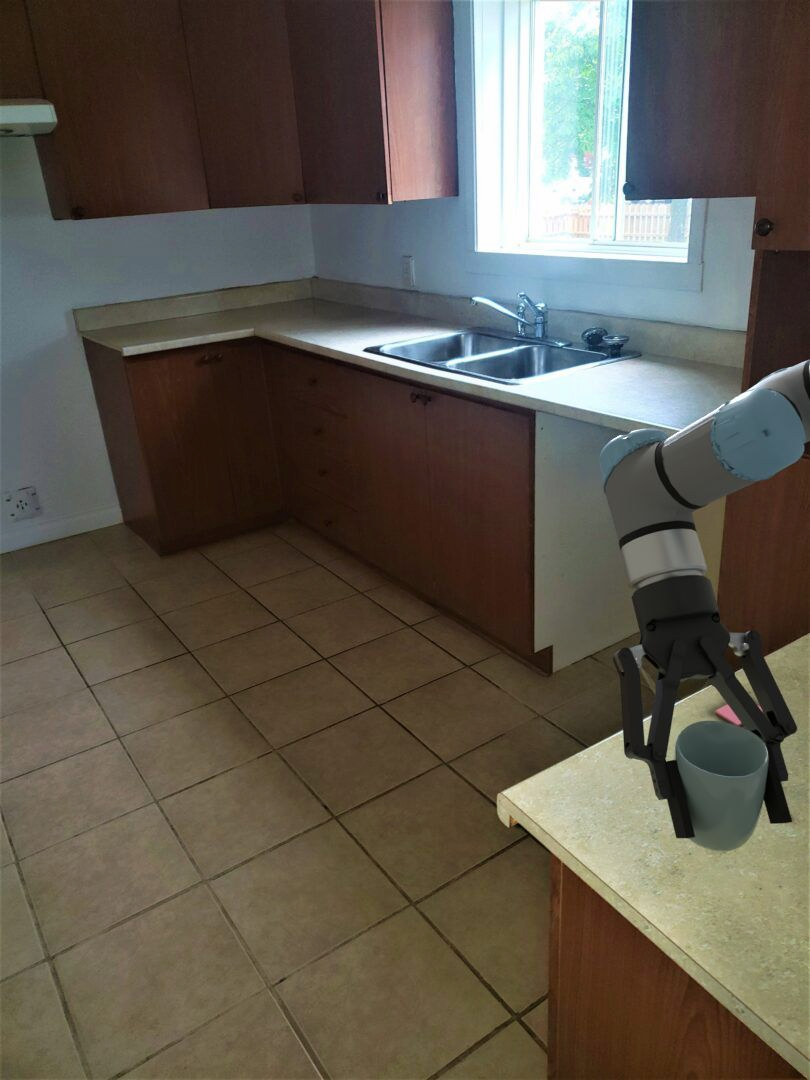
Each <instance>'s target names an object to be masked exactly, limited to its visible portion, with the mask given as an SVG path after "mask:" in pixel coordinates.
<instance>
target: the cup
mask: <svg viewBox="0 0 810 1080" xmlns="http://www.w3.org/2000/svg"><path fill="white" fill-rule="evenodd" d="M673 760H676V761H677V765H678V769H679V773H680V777H681V781H682V785H683V789H684V793H685V797H686V801H687V805H688V809H689V814H690V818H691V822H692V826H693V830H694V834H695V837H692V838H687V839H688V840H689V841H691V842H692V843H693V844H695V845H697V846H698V847H700V848H703V849H706V850H709V851H713V852H721V853H725V852H732V851H735V850H738V849H740V848H742V847H743V846H744V845H746V844H747V842H748V841H750V839H751V837H752V836H753V835H754V832H755V831H756V829H757V827H758V823H759V821H760V817H761V814H762V810H763V805H764V795H765V789H766V782H767V774H768V766H769V755H768V750H767V747H766V745H765V744H764V742H763V741H762V740H761V739H760V738H759V737H758V736H757V735H755V734H754V733H752V732H751V731H749V730H747V729H746V728H745V727H743V726H737V725H734V724H732V723H730V722H725V721H718V720H700V721H697V722H693V723H691V724H689V725H687V726H686V727H684V729H683V730H681V731H680V732H679V734H678V736H677V738H676V741H675V744H674V753H673Z"/></svg>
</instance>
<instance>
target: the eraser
mask: <svg viewBox="0 0 810 1080" xmlns="http://www.w3.org/2000/svg"><path fill="white" fill-rule="evenodd" d="M757 706H758V707H759V708H760V710H761V711H762V709H761V707H760V705H758V704H757ZM762 712H763V711H762ZM714 714H716V715H718V716H719V717H721V718H723V719H724V720H726V721H727V722H728V723H730V724H734V725H737V726H740V727H742V725H743V724H742V723H741V721H740V720H739V719H738V717H737V716H736V715H735V713H734V712H733V711H732V709H731V708H730V707H729V705H728V704H727V703H726V705H724V706H722V707H719V708H718V709H716V710H715V711H714Z"/></svg>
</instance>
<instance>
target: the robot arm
mask: <svg viewBox="0 0 810 1080" xmlns="http://www.w3.org/2000/svg"><path fill="white" fill-rule="evenodd" d="M809 442H810V359H807V360H805V361H802V362H800V363H798V364H795V365H793V366H790V367H785V368H780V369H778V370H776V371H774V372H772V373H770V374H769V375H767V376H764V377H763V378H762V379H760V380H759V381H758V382H757V383H756V384H755V385H753V386H752V387H750V388H748V389H747V390H746V391H743V392H742V393H740V394H739V395H737V396H735V397H733V398H732V399H731V400H730V399H729V401H725V403H724V404H722V405H721V406H719V407H718V408H716V409H714V410H713V411H711V412H709V413H708V414H705V416H703V417H701V418H699V419H697V420H696V421H694V422H693V423H691V424H690V425H687V426H686V427H684V428H682V429H681V430H680V431H678V432H676V433H674V434H673V435H671V436H670V435H669V434H668V433H667V432H665V431H664V430H661V429H657V428H641V429H635V430H632V431H630V432H629V433H627V434H620V435H618V436H617V437H615V438H613V439H612V440H610V441H609V442H608V443H607V444H606V445H604V447H603V448H602V450H601V452H600V454H599V465H600V471H601V477H602V478H601V479H602V489H603V493H604V496H605V497H606V501H607V505H608V508H609V511H610V514H611V518H612V521H613V525H614V529H615V532H616V536H617V539H618V546H619V550H620V555H621V559H622V565H623V567H624V570H625V571H624V572H625V576H626V580H627V583H628V584H627V585H628V588H630V589H631V590H633V591H634V592H633V594H632V596H631V602H632V605H633V610H634V613H635V619H636V623H637V626H638V630H639V633H640V640H639V642H638V645H635V646H632V647H626V646H625V647H621V648H620V649H619V650H618V651H617V652H615V653H614V654H613V656H612V662H613V664H614V666H615V669H616V672H617V674H618V676H619V685H620V701H621V720H622V721H621V722H622V735H623V752H624V755H625V757H626V758H627V759H629V760H633V759H634V760H638V761H642V762H644V763H645V764H647V766H648V769H649V773H650V777H651V781H652V785H653V791H654V794H655V796H656V798H657V800H658V801H661V800H662V801H664V800H666V801H667V805H668V809H669V810H668V811H669V813H670V818H671V822H672V826H673V830H674V835H675V839H688V838H692V837H695V834H694V830H693V826H692V822H691V818H690V814H689V809H688V805H687V801H686V797H685V793H684V789H683V785H682V781H681V777H680V773H679V769H678V765H677V761H676V760H674V759H671V760H667V754H668V749H669V748H668V747H669V742H670V735H671V729H672V723H673V717H674V712H675V705H676V699H677V693H678V689H679V687H680V686H681V685H680V684H681V683H683V682H684V681H687V680H688V679H692V680H704V679H706V681H707V682H708V683H709V685H710V686H712V687H714V688H715V689H716V691H717V692H718V693H719V695H720V696H721V698H722V699H723V700H724V701H725V703H726V705H727V704H728V705H729V707H730V708H731V709H732V711H733V712H734V713H735V715H736V716H737V717H738V719H739V720H740V721H741V723H742V725H743V726H742V727H743V728H745V729H747V730H749V731H751V732H752V733H754V734H755V735H757V736H758V737H759V738H760V739H761V740H762V741H763V742H764V744H765V745H766V747H767V750H768V755H769V766H768V774H767V782H766V789H765V795H764V800H763V803H764V806H765V809H766V813H767V816H768V820H769V824H770V825H775V824H788V823H793V819H792V815H791V811H790V807H789V805H788V801H787V798H786V794H785V790H784V787H783V784H782V783H783V782H788V781H789V771H788V769H787V765H786V761H785V759H784V755H783V751H782V748H781V744H782V743H783V742H784V740H785V739H786V738H788V737H790V736H792V735H794V734H796V732H797V731H798V726H797V723H796V722H795V720H794V718H793V715H792V713H791V711H790V709H789V707H788V704H787V702H786V700H785V698H784V696H783V694H782V692H781V690H780V688H779V686H778V684H777V681H776V679H775V677H774V675H773V673H772V671H771V668H770V667H769V665H768V662H767V661H766V659H765V657H764V655H763V649H762V640H761V635H760V632H759V631H757V630H755V629H750V630H749V631H747V632H730V631H729V630H728V629H727V627H726V626H725V625H724V623H723V622H722V620H721V615H720V610H719V606H718V603H717V599H716V595H715V591H714V588H713V584H712V581H711V579H710V578H708V577H707V576H705V575H706V573H707V572H708V570H709V569H708V566H707V563H706V559H705V555H704V553H703V548H702V545H701V541H700V537H699V535H698V532H697V528H696V524H695V520H694V515H693V512H694V511H697V510H700V509H702V508H704V507H706V506H708V505H710V504H711V503H713V502H715V501H718V500H719V499H720V500H721V499H722V498H724V497H727V496H729V495H731V494H733V493H736V492H737V491H740V490H742V489H744V488H746V487H749V486H752V485H753V484H755V483H757V482H760V481H766V480H768V479H771V478H773V477H774V476H775V475H776V474H777V473H778V472H780V471H782V470H783V469H785V468H787V467H790V466H791V465H794V464H795V463H797V462H798V461H799V460H800V459H801V458H802V456H803V454H804V452H805V444H807V443H809ZM728 647H730V648H731V649H732V651H733V654H734V655H735V656H737V657H738V659H739V662H740V665H741V668H742V670H743V673H744V674H745V676H746V679H747V681H748V684H749V685H750V687H751V690H752V692H753V693H754V696H755V698H756V700H757V702H758V704H759V705H758V704H757V703H756V701H754V699H753V697H752V696H751V695H750V693H749V692H748V691H747V690H746V688H745V687H744V685H742V683H741V682H740V680H739V679H738V678H737V676H736V671H735V670H734V669H733V667H732V666H731V664H730V663H729V662H728V660H727V659H726V658H725V655H726V653H727V650H728ZM643 658H644V659H645V660H646V661H647V662H649V664H651V666H653V667H654V668H655V669H656V670H657V673H656V680H655V686H654V688H655V694H654V699H653V700H654V701H653V705H652V712H651V718H650V723H649V729H648V734H647V740H646V742H645V725H644V711H643V698H642V682H641V673H640V669H641V668H642V666H643ZM757 705H758V706H760V707H761V709H762V711H763V712H762V711H761V710H760V708H759V707H758V706H757ZM645 743H646V744H645Z"/></svg>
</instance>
